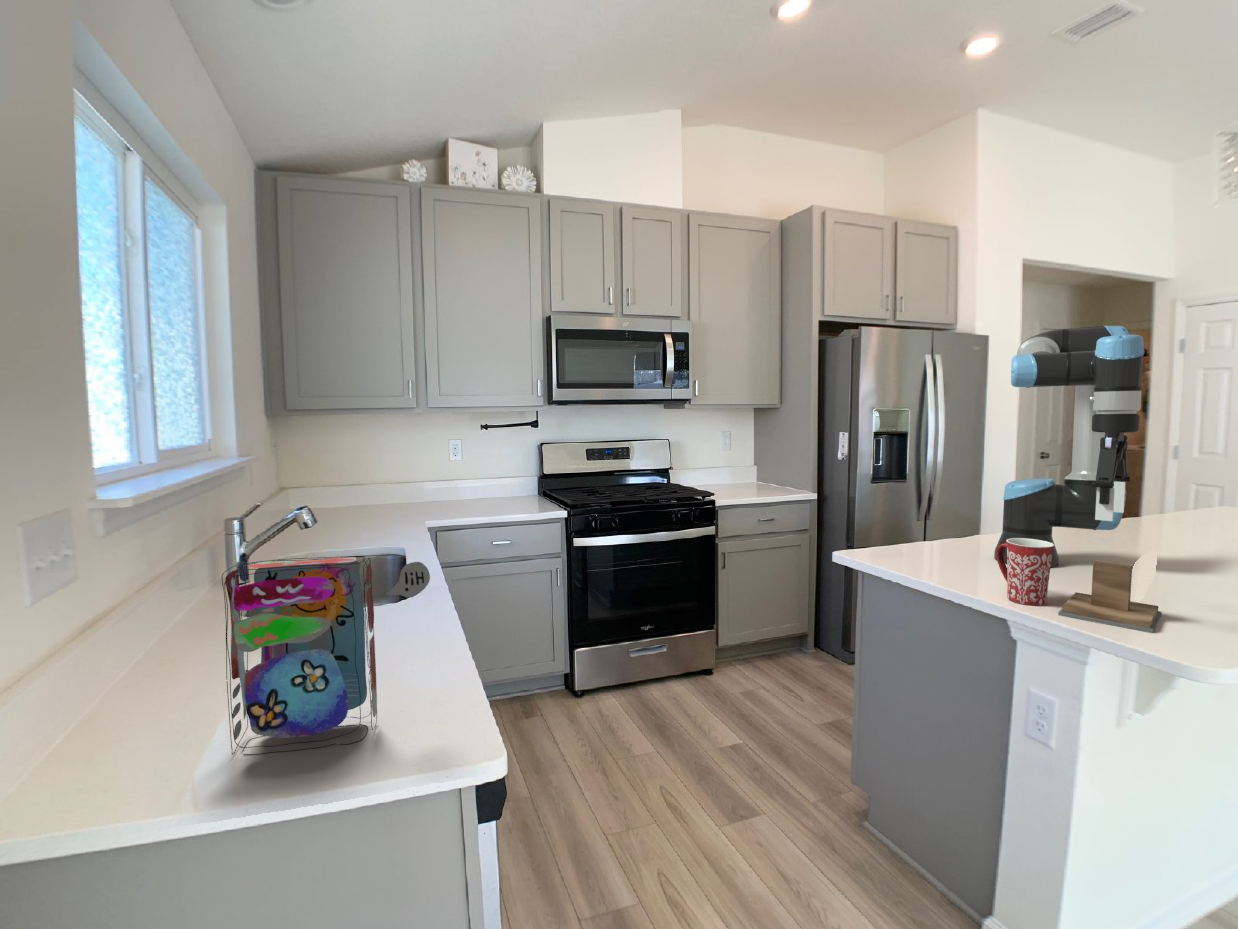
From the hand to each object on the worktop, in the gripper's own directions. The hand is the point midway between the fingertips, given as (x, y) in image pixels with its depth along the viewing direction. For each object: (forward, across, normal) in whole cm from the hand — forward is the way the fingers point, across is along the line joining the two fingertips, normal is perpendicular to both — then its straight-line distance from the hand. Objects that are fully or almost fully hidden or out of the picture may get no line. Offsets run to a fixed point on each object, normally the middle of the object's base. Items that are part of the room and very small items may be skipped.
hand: (1109, 516), depth 126 cm
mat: (+21, -1, +1) cm, 21 cm away
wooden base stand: (+20, -1, +1) cm, 20 cm away
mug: (+21, -1, -15) cm, 26 cm away
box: (+21, +132, -64) cm, 148 cm away
